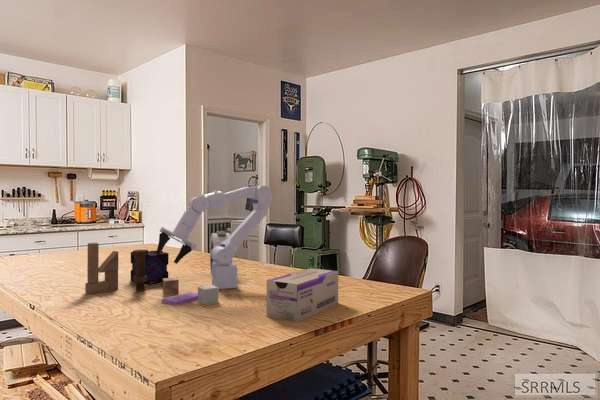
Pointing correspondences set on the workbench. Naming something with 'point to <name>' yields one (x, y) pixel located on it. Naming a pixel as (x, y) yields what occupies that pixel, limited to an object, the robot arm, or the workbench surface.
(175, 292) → the brown boxy piece
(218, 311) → the workbench surface
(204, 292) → the grey block
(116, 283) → the wooden block
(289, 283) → the surgical sutures box
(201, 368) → the workbench surface
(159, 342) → the workbench surface
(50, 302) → the workbench surface
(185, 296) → the sponges
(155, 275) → the energy cube
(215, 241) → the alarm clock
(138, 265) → the bolt
